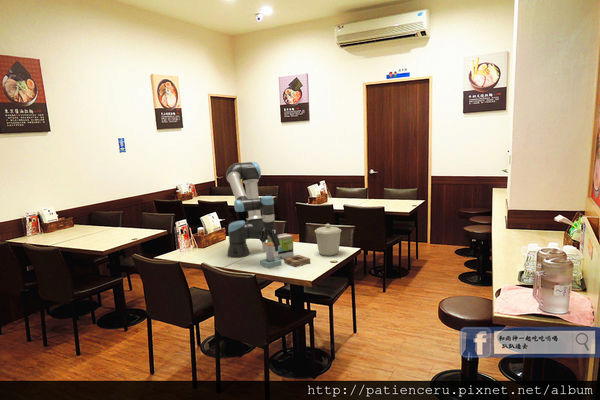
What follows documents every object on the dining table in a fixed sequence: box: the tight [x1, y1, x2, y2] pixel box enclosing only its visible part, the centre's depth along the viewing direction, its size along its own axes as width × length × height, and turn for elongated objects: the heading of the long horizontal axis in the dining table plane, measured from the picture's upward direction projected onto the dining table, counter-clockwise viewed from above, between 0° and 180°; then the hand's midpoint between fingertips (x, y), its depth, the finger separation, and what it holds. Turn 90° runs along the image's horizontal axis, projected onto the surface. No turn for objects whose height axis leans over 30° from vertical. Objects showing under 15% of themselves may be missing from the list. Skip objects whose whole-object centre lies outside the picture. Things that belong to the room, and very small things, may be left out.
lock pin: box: [265, 242, 274, 262], centre depth 253 cm, size 5×5×14 cm
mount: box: [259, 258, 283, 269], centre depth 254 cm, size 10×10×3 cm
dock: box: [283, 254, 311, 268], centre depth 256 cm, size 12×12×3 cm
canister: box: [314, 223, 342, 257], centre depth 273 cm, size 18×18×21 cm
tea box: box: [266, 233, 294, 260], centre depth 270 cm, size 15×10×15 cm
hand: (270, 254), depth 253 cm, fingers open, 13 cm apart
